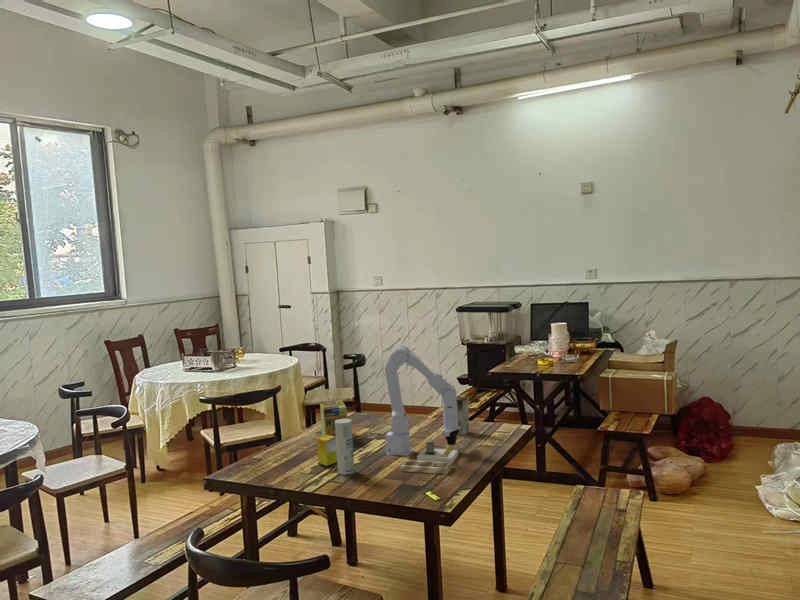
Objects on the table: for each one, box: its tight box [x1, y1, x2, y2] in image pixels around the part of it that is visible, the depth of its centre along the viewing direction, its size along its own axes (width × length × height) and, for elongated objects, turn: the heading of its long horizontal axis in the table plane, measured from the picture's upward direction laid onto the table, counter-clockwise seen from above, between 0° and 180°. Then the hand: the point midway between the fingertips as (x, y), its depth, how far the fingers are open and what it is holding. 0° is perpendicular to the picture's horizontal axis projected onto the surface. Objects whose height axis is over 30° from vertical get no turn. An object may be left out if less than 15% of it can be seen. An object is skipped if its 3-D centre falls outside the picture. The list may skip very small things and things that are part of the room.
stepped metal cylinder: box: [425, 438, 435, 455], centre depth 246 cm, size 3×3×8 cm
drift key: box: [442, 443, 457, 457], centre depth 246 cm, size 4×11×4 cm, turn 161°
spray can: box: [335, 418, 355, 476], centre depth 236 cm, size 6×6×20 cm
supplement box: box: [316, 435, 338, 468], centre depth 247 cm, size 6×6×11 cm
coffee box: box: [456, 395, 470, 436], centre depth 280 cm, size 9×6×16 cm
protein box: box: [319, 399, 348, 437], centre depth 283 cm, size 10×15×16 cm
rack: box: [400, 459, 452, 475], centre depth 233 cm, size 18×7×2 cm, turn 71°
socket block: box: [416, 447, 459, 465], centre depth 245 cm, size 14×11×2 cm
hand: (452, 448), depth 253 cm, fingers closed
